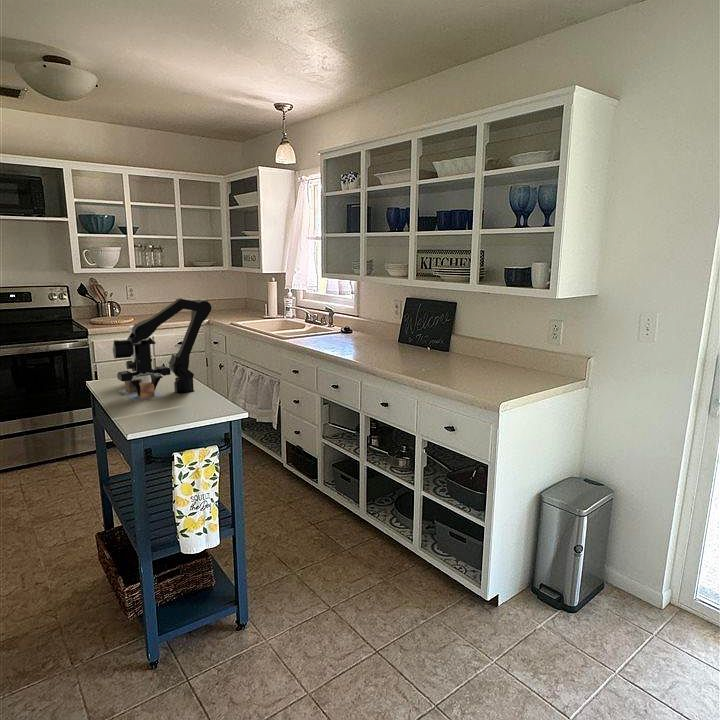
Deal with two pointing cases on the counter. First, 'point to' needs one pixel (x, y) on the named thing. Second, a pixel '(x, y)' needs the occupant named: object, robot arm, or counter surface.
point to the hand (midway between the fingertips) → (145, 394)
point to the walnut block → (131, 386)
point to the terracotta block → (146, 390)
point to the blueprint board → (134, 396)
